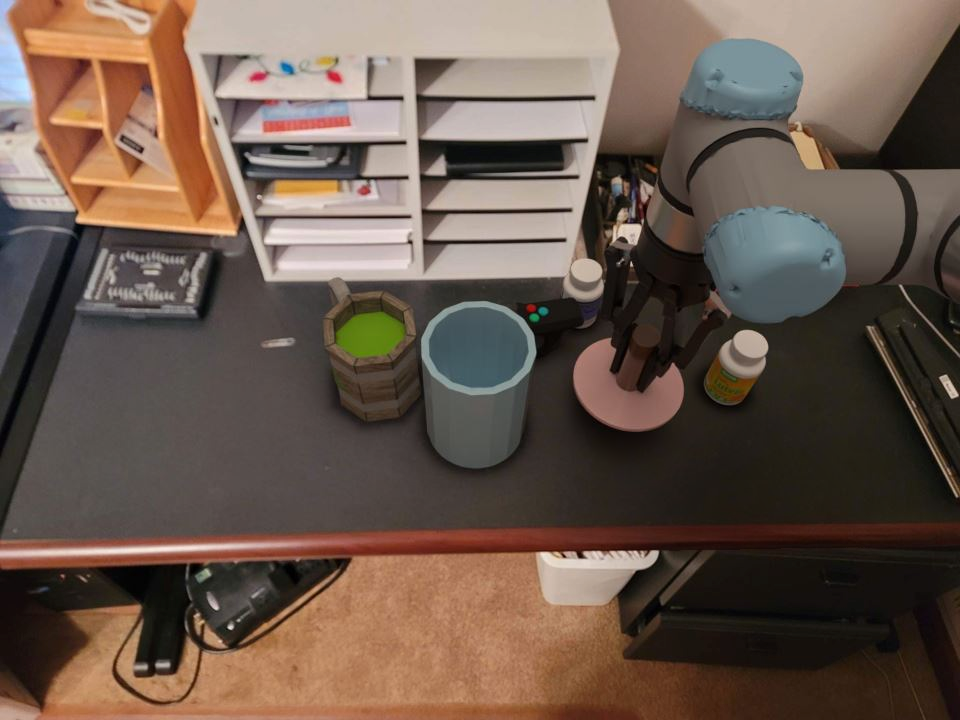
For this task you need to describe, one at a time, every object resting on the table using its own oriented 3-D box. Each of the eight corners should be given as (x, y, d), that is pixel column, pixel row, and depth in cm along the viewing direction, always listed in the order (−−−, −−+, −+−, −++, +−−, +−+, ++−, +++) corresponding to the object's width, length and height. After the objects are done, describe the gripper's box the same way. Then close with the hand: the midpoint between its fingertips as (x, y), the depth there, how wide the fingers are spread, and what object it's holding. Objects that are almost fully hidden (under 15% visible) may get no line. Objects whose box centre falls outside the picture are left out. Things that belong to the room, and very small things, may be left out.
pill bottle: (604, 320, 94) (616, 276, 87) (572, 335, 92) (581, 292, 85) (581, 293, 96) (591, 248, 89) (549, 308, 95) (557, 263, 87)
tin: (542, 421, 85) (558, 342, 71) (480, 487, 80) (484, 416, 66) (471, 368, 89) (473, 283, 75) (407, 428, 84) (397, 349, 70)
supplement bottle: (699, 399, 87) (724, 354, 79) (706, 365, 90) (730, 319, 82) (743, 411, 86) (772, 368, 78) (748, 377, 89) (777, 332, 81)
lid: (688, 359, 83) (714, 307, 75) (672, 448, 76) (698, 401, 68) (585, 331, 85) (600, 277, 77) (560, 415, 78) (573, 365, 70)
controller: (479, 345, 91) (481, 296, 83) (570, 329, 93) (580, 280, 85) (487, 372, 89) (490, 324, 80) (579, 355, 90) (592, 307, 82)
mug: (438, 397, 86) (436, 340, 76) (360, 437, 83) (346, 383, 73) (379, 311, 94) (370, 249, 84) (305, 345, 90) (286, 285, 80)
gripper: (795, 248, 58) (711, 394, 78) (635, 160, 64) (594, 317, 83) (752, 299, 55) (675, 438, 74) (587, 202, 61) (555, 355, 80)
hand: (632, 374), depth 79 cm, fingers closed on lid, 3 cm apart
